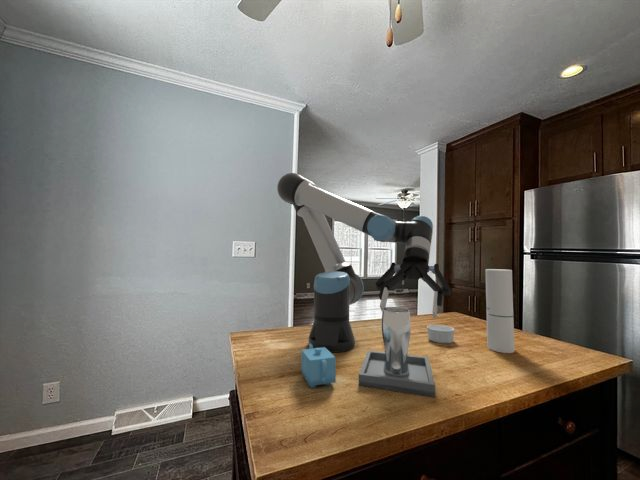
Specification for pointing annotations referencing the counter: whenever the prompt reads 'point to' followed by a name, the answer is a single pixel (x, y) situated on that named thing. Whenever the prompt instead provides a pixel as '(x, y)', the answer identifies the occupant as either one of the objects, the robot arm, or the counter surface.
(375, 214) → the robot arm
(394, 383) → the tray
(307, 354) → the teapot
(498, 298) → the cylindrical container
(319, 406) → the counter surface
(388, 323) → the beer glass
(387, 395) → the counter surface
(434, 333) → the ramekin
